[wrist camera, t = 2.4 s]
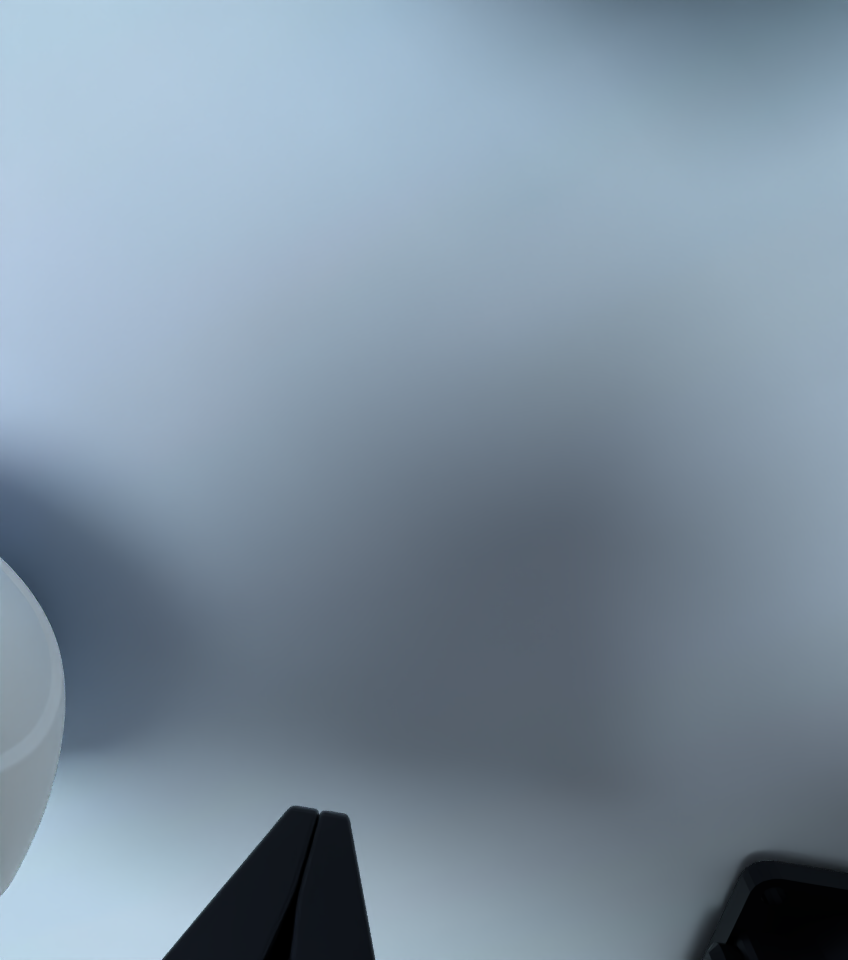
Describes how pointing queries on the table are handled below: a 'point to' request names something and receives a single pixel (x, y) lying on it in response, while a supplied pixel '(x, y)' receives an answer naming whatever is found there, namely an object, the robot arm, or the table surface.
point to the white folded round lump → (26, 718)
